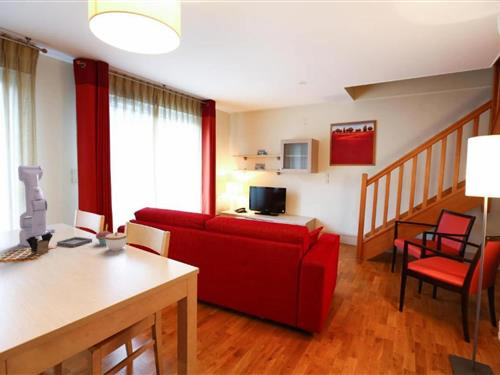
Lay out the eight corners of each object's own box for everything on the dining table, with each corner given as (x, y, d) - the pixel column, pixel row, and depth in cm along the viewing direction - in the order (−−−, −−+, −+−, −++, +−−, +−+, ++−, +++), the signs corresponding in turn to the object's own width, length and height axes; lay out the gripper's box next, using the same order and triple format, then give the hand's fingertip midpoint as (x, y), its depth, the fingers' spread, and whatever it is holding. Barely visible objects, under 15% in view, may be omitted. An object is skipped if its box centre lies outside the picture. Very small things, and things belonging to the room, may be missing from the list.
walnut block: (31, 253, 135) (30, 242, 135) (41, 250, 140) (40, 239, 139) (38, 255, 134) (38, 243, 133) (48, 252, 139) (48, 240, 138)
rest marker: (40, 248, 143) (40, 248, 143) (51, 245, 149) (51, 245, 149) (48, 250, 142) (48, 249, 142) (59, 246, 148) (59, 246, 148)
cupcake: (115, 241, 160) (115, 222, 159) (106, 245, 152) (106, 225, 151) (102, 240, 161) (101, 221, 160) (92, 245, 153) (92, 224, 152)
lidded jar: (118, 253, 141) (118, 235, 140) (100, 251, 143) (100, 233, 142) (131, 247, 151) (131, 230, 150) (114, 245, 153) (114, 229, 153)
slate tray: (57, 244, 151) (56, 241, 151) (76, 239, 162) (76, 236, 162) (73, 247, 147) (73, 244, 147) (92, 241, 159) (91, 238, 159)
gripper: (29, 227, 128) (30, 255, 129) (58, 221, 142) (59, 246, 143) (18, 226, 130) (19, 253, 131) (48, 220, 143) (49, 245, 145)
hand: (39, 249), depth 137 cm, fingers closed on walnut block, 5 cm apart
